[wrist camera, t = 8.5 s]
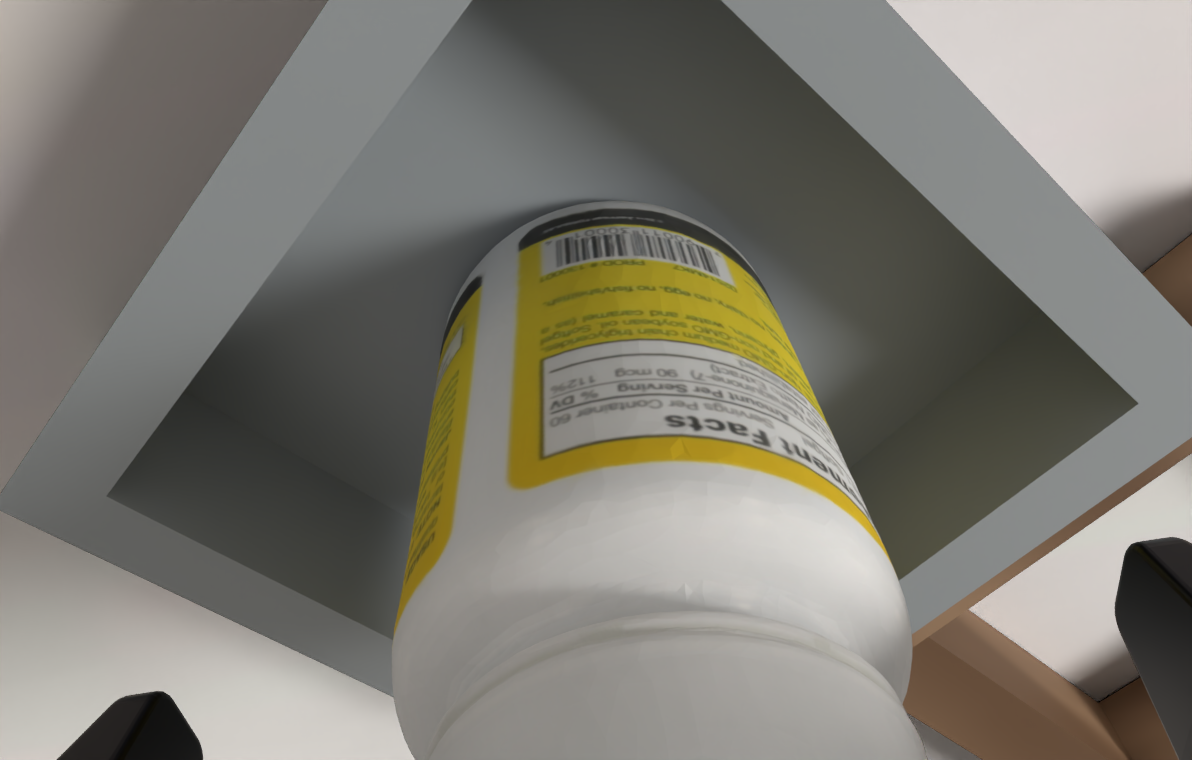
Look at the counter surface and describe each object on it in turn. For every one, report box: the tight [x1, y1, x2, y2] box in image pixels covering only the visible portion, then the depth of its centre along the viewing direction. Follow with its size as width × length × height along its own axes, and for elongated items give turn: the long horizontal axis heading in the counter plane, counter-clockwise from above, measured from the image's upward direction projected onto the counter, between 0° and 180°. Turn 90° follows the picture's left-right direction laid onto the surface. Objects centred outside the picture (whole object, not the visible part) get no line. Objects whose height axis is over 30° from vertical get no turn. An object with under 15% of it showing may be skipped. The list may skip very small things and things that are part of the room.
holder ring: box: [902, 234, 1192, 760], centre depth 17 cm, size 10×10×2 cm
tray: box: [0, 0, 1192, 697], centre depth 13 cm, size 11×11×4 cm
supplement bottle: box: [392, 201, 927, 760], centre depth 10 cm, size 5×5×8 cm
